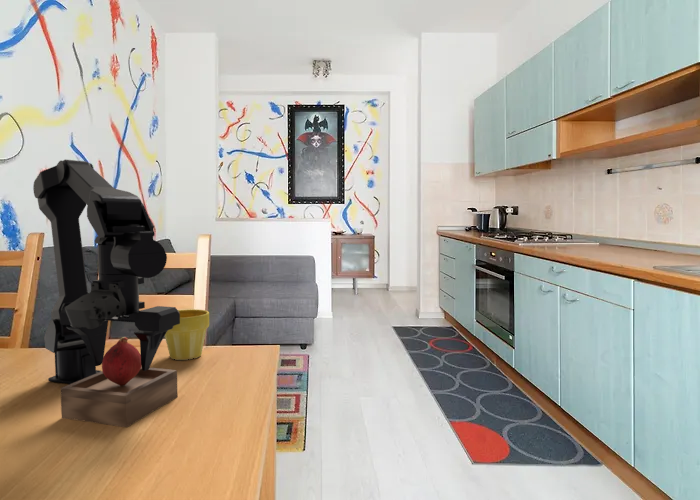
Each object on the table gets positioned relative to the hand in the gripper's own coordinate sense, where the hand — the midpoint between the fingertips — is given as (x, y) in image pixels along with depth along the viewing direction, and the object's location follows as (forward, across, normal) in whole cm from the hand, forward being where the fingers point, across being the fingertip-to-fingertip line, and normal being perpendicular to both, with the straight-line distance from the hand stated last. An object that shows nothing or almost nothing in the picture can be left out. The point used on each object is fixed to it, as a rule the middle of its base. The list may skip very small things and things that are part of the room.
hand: (121, 367), depth 74 cm
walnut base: (+6, 0, 0) cm, 6 cm away
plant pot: (+7, -7, +27) cm, 29 cm away
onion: (+3, 0, 0) cm, 3 cm away
